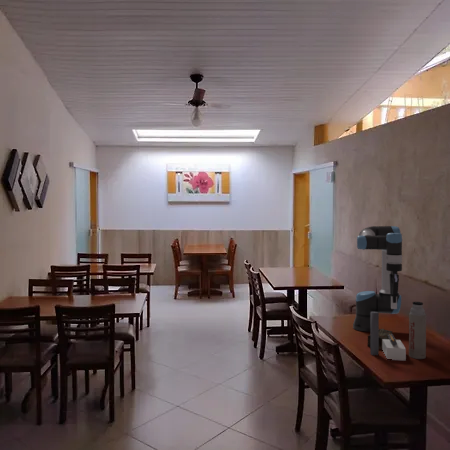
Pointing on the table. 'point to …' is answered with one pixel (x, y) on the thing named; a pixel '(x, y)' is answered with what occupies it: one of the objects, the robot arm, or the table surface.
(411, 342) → the thermos bottle
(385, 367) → the table surface
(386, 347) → the breaker box
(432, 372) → the table surface
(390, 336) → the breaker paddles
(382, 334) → the beverage carton
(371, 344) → the post
